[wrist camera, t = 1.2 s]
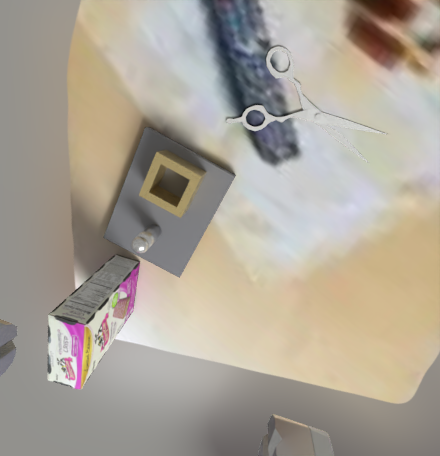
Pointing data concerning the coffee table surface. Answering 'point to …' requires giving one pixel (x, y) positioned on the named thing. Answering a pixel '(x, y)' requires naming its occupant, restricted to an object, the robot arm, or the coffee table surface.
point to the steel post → (146, 238)
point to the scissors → (304, 110)
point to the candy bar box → (90, 321)
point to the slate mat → (152, 214)
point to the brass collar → (163, 196)
